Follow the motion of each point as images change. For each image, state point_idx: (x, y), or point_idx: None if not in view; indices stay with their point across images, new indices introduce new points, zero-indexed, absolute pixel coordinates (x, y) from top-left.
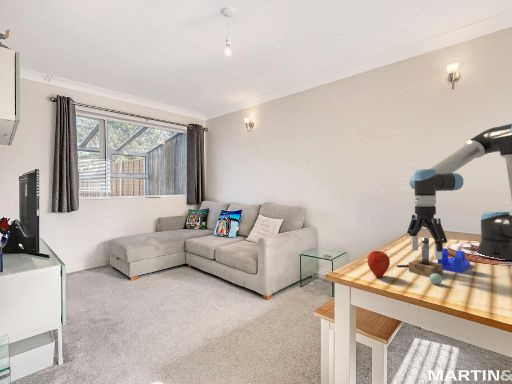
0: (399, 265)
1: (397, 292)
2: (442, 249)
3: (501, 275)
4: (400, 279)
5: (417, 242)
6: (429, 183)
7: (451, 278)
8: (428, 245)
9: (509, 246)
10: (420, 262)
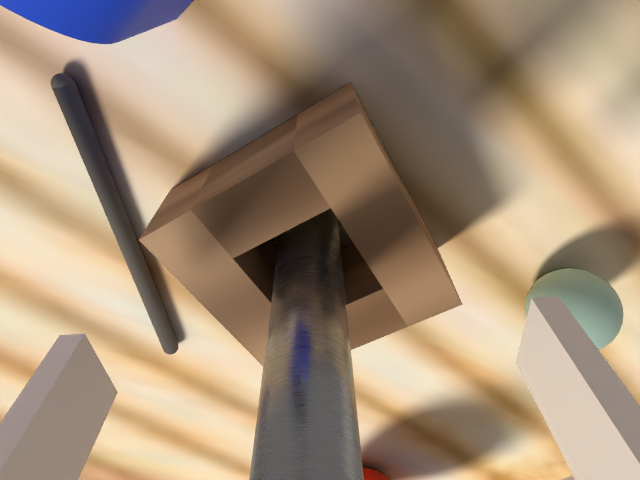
0: (170, 341)
1: None
2: None
3: None
4: (424, 411)
5: (13, 462)
6: None
7: (488, 87)
8: (355, 476)
9: None
10: (263, 290)
